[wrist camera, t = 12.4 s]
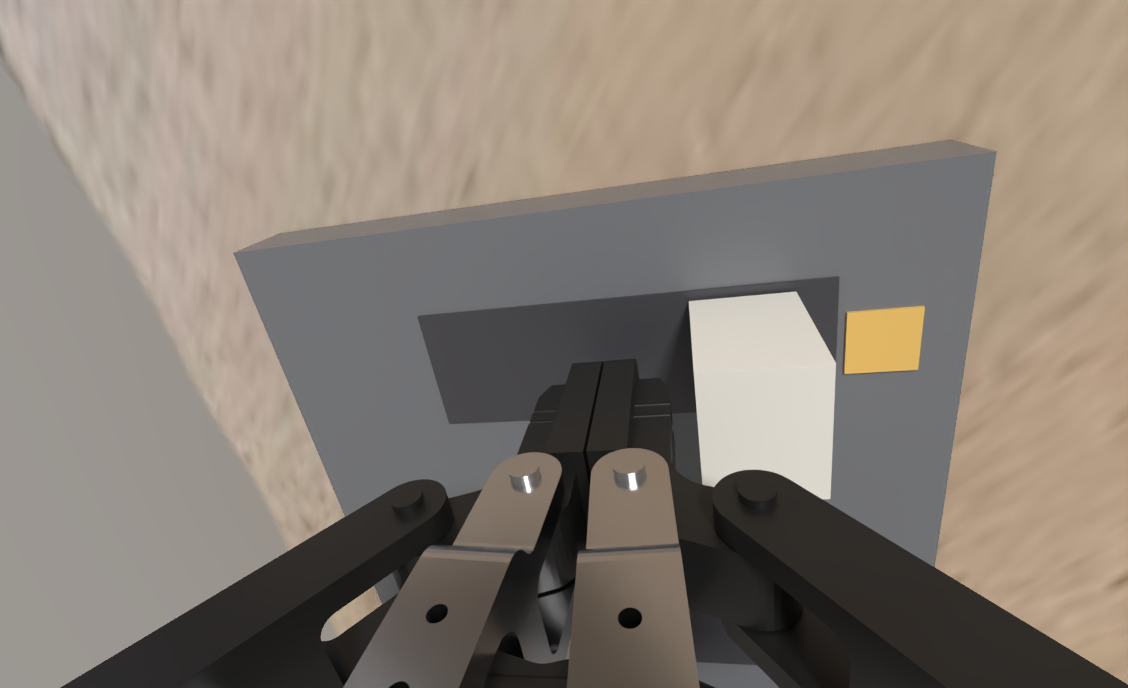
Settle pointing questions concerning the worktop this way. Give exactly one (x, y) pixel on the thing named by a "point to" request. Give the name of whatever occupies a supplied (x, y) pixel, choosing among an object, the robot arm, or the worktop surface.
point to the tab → (763, 389)
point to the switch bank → (639, 324)
